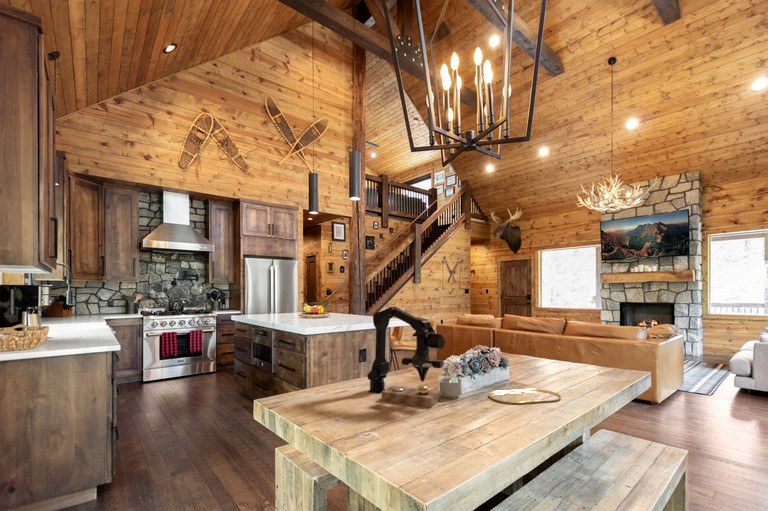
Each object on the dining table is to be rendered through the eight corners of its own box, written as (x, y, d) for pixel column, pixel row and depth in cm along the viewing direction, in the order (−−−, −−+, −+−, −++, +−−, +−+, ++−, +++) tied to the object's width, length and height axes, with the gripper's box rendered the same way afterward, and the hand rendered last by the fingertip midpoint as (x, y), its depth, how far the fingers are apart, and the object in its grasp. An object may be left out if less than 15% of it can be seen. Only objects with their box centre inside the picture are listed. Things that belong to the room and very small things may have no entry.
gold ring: (481, 395, 189) (481, 391, 189) (544, 391, 196) (544, 388, 196) (501, 406, 170) (501, 403, 171) (570, 402, 178) (570, 398, 178)
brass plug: (416, 394, 174) (416, 387, 174) (419, 392, 178) (419, 384, 179) (426, 396, 172) (426, 388, 172) (429, 393, 176) (429, 386, 177)
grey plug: (392, 396, 179) (392, 389, 179) (396, 394, 183) (396, 386, 184) (401, 398, 177) (401, 390, 177) (405, 395, 181) (405, 388, 182)
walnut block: (381, 400, 177) (381, 391, 178) (392, 394, 188) (392, 385, 188) (431, 407, 167) (431, 398, 167) (439, 400, 178) (439, 391, 178)
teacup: (463, 400, 179) (463, 382, 179) (440, 399, 179) (440, 382, 180) (458, 391, 193) (458, 375, 193) (436, 391, 193) (436, 375, 194)
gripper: (397, 347, 174) (396, 383, 173) (436, 351, 166) (436, 388, 164) (406, 344, 184) (406, 377, 183) (444, 347, 176) (444, 382, 175)
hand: (422, 381), depth 176 cm, fingers closed
